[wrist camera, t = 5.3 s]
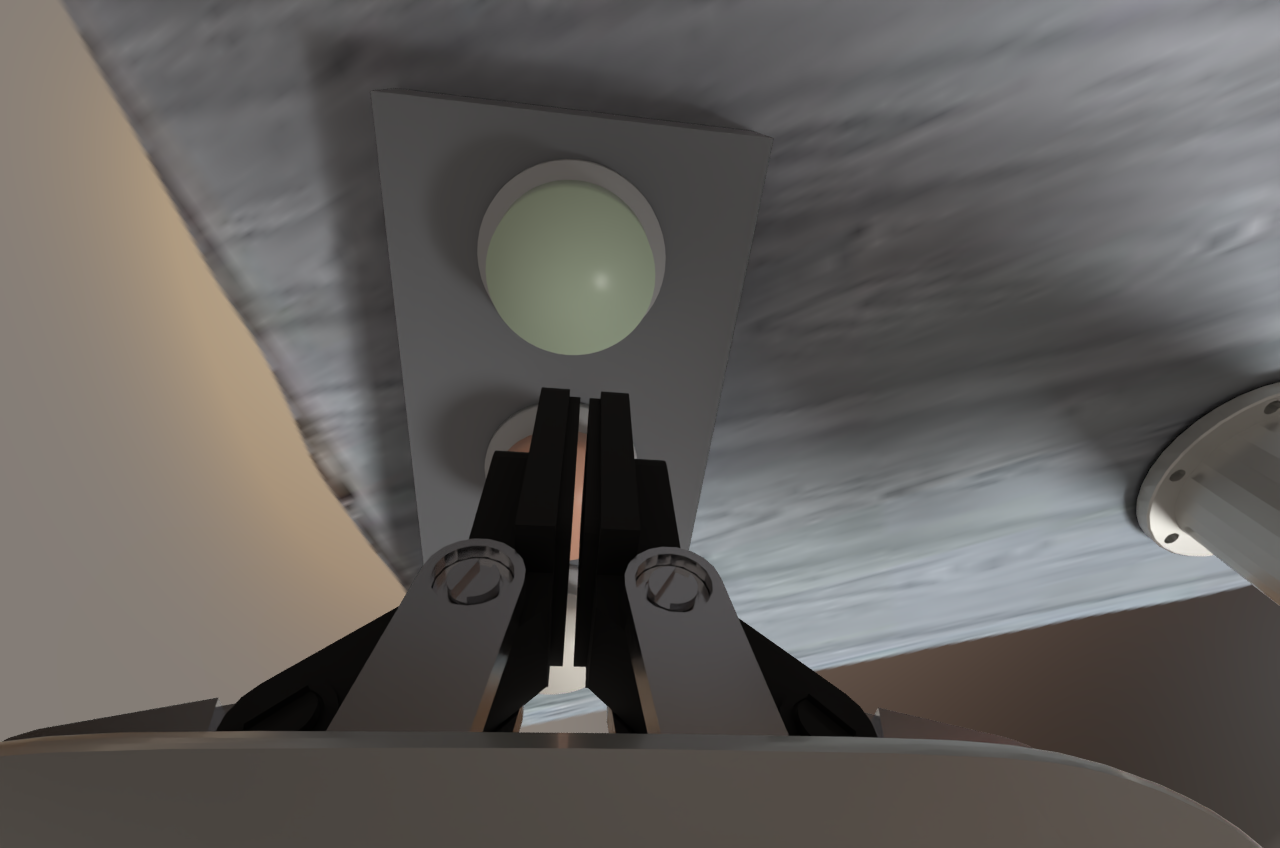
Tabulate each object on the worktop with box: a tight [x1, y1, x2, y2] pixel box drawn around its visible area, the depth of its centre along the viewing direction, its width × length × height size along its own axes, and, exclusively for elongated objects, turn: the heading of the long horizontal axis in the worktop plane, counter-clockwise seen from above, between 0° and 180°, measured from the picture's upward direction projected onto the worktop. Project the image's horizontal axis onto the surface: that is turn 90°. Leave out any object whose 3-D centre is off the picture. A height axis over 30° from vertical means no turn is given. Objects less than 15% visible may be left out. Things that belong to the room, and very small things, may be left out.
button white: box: [538, 593, 586, 694], centre depth 31 cm, size 6×6×2 cm
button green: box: [486, 180, 655, 355], centre depth 21 cm, size 6×6×2 cm
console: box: [370, 88, 773, 595], centre depth 29 cm, size 14×30×4 cm, turn 174°
